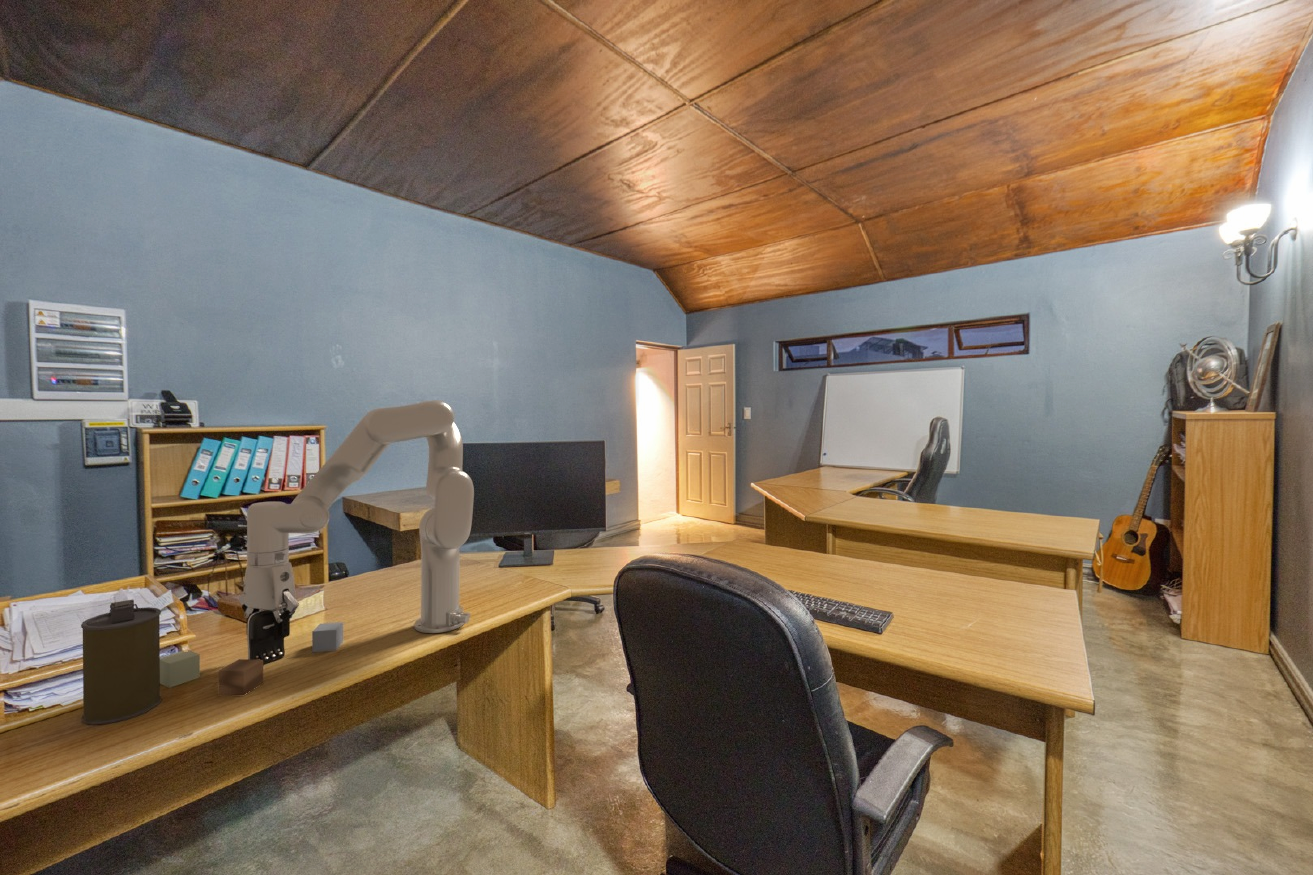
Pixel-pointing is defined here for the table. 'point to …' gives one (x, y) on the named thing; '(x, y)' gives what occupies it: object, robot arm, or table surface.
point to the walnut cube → (240, 677)
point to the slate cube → (327, 637)
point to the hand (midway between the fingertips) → (268, 635)
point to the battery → (263, 637)
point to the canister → (121, 663)
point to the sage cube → (179, 668)
